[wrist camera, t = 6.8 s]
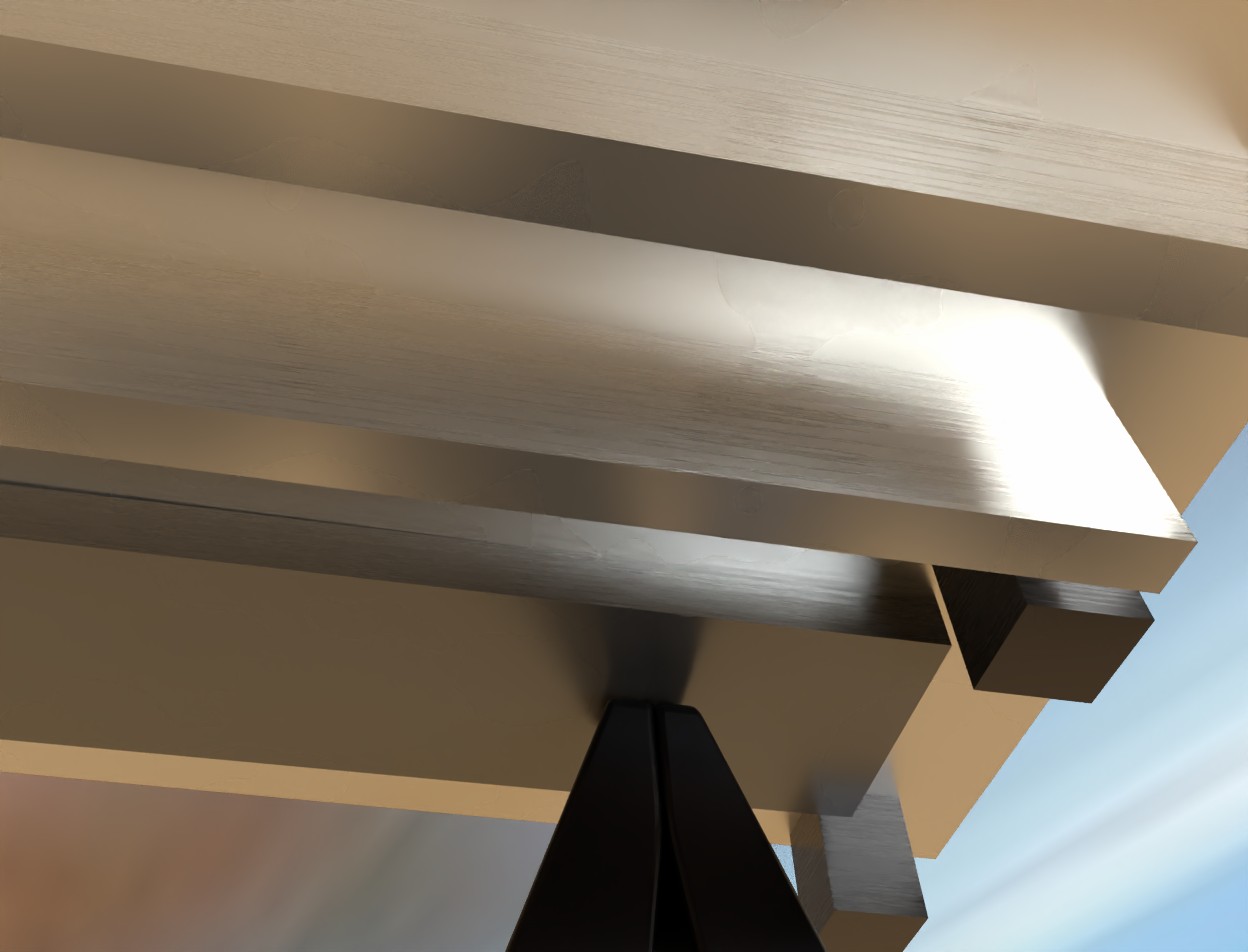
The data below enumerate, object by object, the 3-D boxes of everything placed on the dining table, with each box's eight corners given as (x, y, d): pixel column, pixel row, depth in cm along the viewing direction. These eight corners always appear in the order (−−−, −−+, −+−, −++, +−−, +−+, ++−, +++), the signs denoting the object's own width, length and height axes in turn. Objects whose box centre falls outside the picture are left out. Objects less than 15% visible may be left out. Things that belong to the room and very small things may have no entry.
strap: (-416, 646, 10) (-513, 742, 9) (-587, 413, 8) (-733, 506, 7) (842, 768, 11) (860, 862, 10) (935, 596, 9) (966, 691, 8)
